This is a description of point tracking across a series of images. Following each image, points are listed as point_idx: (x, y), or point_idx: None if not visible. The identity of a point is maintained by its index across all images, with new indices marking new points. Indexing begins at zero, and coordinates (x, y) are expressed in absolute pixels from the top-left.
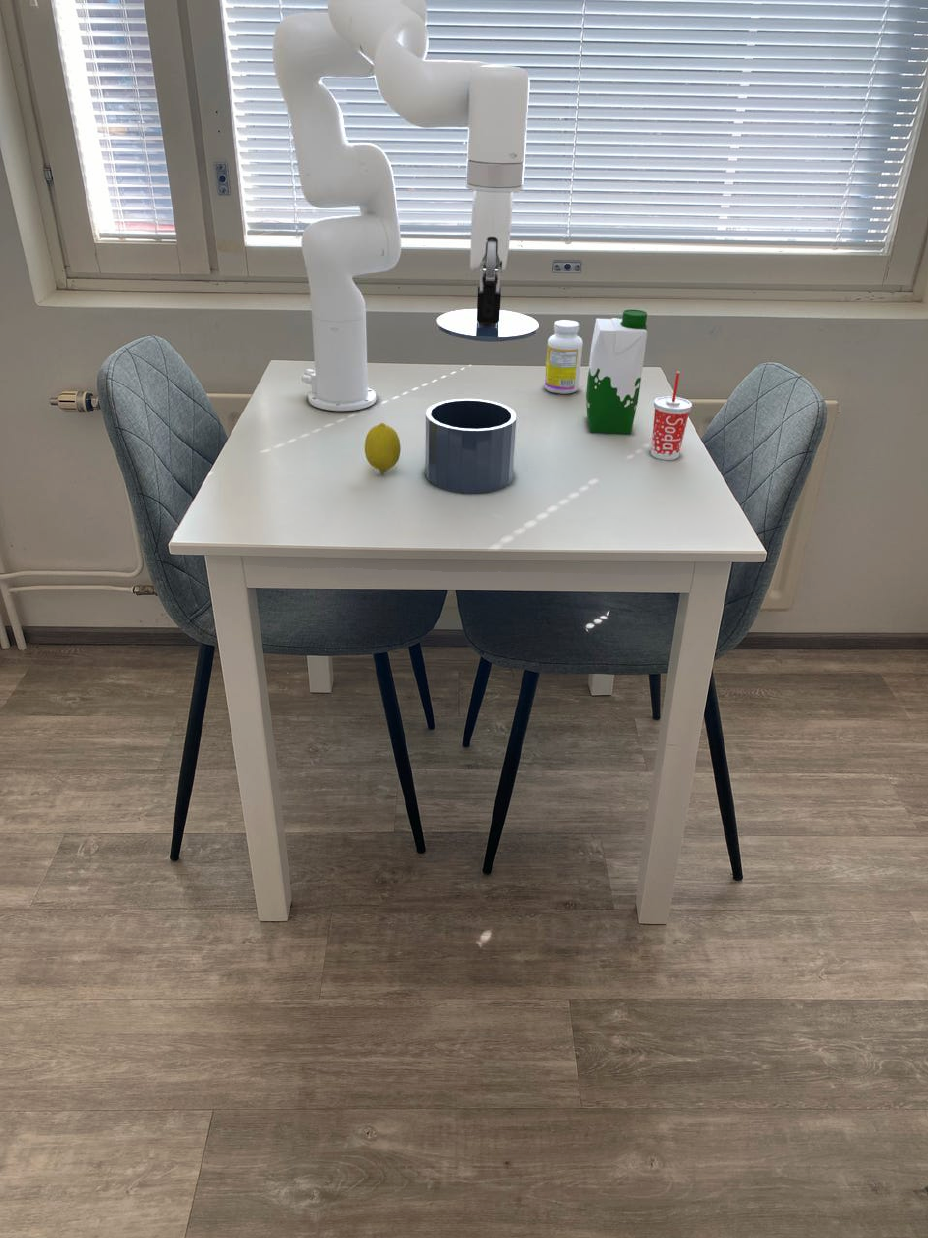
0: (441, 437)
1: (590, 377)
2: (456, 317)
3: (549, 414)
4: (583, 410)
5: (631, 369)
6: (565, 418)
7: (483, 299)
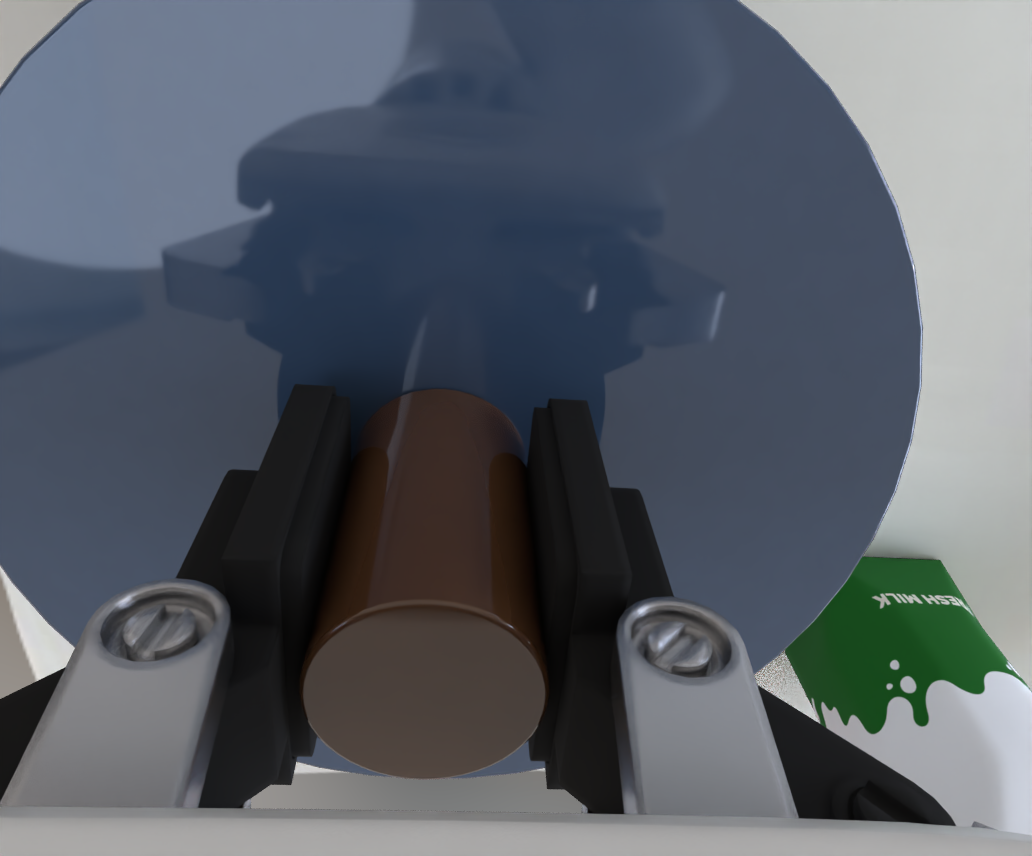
0: None
1: (938, 671)
2: (599, 169)
3: (1012, 452)
4: (1016, 557)
5: None
6: (960, 497)
7: (181, 577)
